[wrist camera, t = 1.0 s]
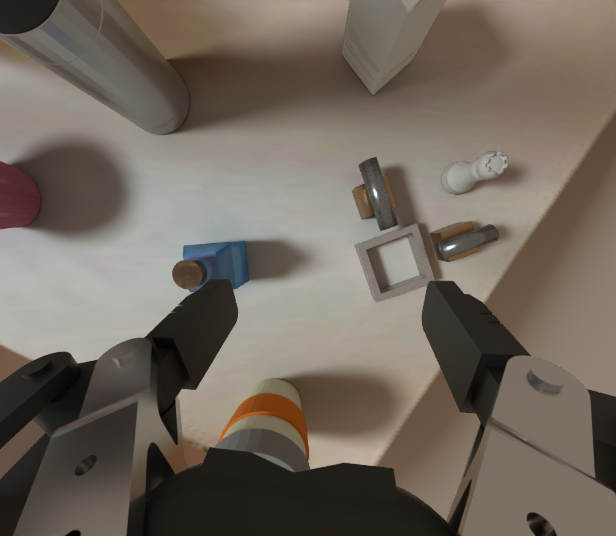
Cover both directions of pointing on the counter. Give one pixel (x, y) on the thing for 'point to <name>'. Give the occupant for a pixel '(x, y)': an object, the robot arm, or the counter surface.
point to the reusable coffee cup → (270, 426)
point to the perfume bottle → (211, 265)
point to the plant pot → (17, 197)
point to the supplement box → (385, 36)
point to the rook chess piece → (473, 172)
